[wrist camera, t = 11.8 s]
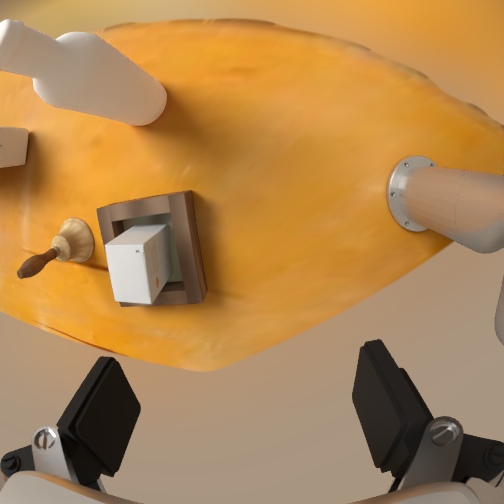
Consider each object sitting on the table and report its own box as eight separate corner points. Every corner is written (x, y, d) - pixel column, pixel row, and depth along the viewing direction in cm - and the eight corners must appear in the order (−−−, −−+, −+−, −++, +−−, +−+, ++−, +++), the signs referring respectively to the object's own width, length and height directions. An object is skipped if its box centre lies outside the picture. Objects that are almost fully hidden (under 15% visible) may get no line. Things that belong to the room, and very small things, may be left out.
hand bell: (99, 229, 41) (39, 261, 25) (88, 269, 43) (36, 311, 28) (65, 209, 39) (3, 233, 24) (57, 249, 42) (1, 282, 27)
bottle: (157, 131, 36) (-6, 98, 7) (114, 121, 35) (-46, 99, 7) (175, 83, 34) (52, -20, 5) (132, 76, 33) (-5, 3, 4)
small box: (136, 223, 39) (103, 243, 29) (169, 223, 39) (143, 243, 29) (141, 272, 42) (113, 302, 32) (173, 273, 42) (151, 305, 32)
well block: (191, 190, 39) (183, 193, 34) (207, 289, 44) (202, 303, 39) (110, 204, 39) (96, 209, 35) (131, 294, 44) (121, 306, 40)
